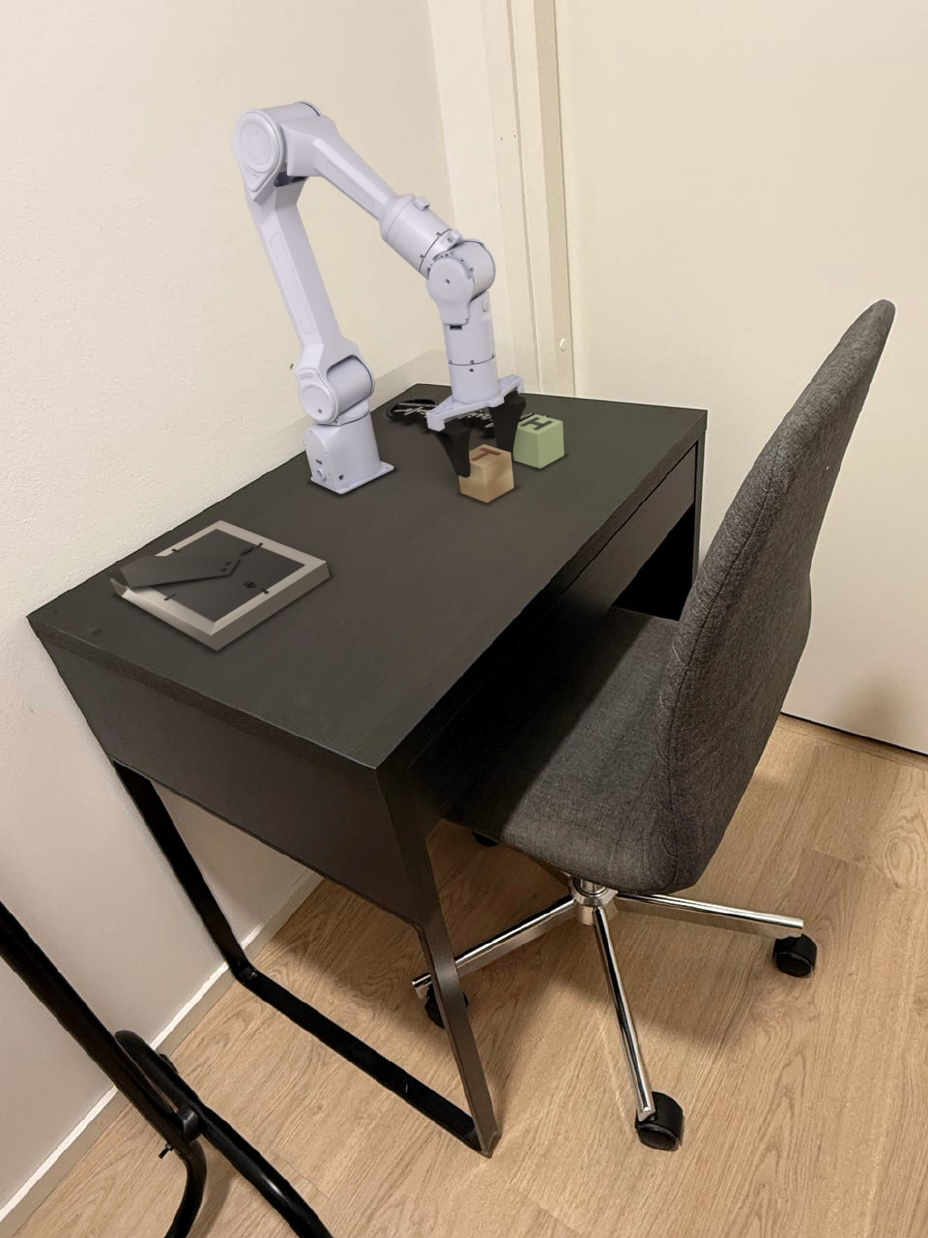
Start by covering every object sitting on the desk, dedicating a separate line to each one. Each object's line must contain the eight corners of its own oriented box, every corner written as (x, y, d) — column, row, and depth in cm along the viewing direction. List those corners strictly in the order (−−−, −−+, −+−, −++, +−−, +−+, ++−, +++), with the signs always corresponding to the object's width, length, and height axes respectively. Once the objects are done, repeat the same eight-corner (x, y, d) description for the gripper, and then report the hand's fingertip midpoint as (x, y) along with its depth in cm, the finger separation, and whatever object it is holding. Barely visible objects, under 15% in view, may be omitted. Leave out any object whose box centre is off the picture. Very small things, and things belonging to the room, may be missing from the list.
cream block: (486, 503, 95) (482, 466, 92) (460, 493, 98) (455, 457, 95) (514, 487, 98) (510, 451, 95) (488, 478, 101) (483, 443, 98)
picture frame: (117, 594, 89) (217, 651, 77) (107, 574, 87) (208, 629, 75) (225, 534, 98) (330, 576, 86) (218, 515, 96) (324, 555, 84)
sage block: (540, 468, 101) (537, 433, 98) (513, 460, 104) (510, 425, 102) (564, 455, 104) (562, 420, 101) (538, 447, 107) (535, 413, 104)
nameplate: (558, 405, 115) (534, 431, 108) (559, 414, 116) (534, 441, 109) (406, 397, 127) (375, 420, 120) (407, 405, 127) (377, 429, 121)
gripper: (448, 382, 82) (464, 493, 90) (538, 343, 89) (546, 449, 97) (408, 372, 86) (426, 479, 94) (497, 336, 93) (507, 438, 101)
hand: (484, 463), depth 96 cm, fingers open, 7 cm apart
